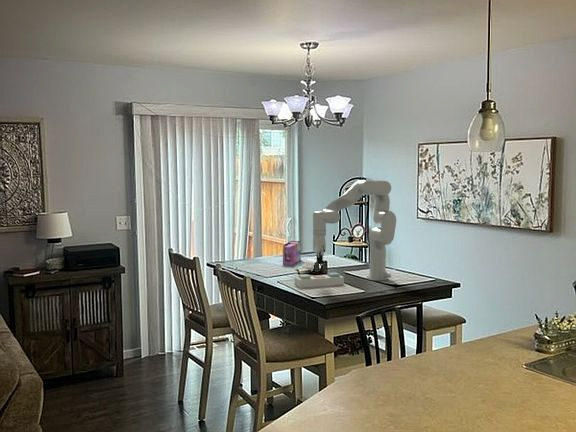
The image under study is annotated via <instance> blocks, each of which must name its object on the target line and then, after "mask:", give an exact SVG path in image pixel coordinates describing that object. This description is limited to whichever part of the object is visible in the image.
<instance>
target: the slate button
mask: <svg viewBox="0 0 576 432" xmlns="http://www.w3.org/2000/svg"><path fill="white" fill-rule="evenodd" d="M327 275H328V276H329V277H340V273H338V272H327Z"/></svg>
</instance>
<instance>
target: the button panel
mask: <svg viewBox="0 0 576 432" xmlns="http://www.w3.org/2000/svg"><path fill="white" fill-rule="evenodd" d="M319 275H320V274H319ZM319 275H318V274H317V275H315V276H319ZM321 275H322V276H324V277H325V278H315V277H313V276H314V275H310V276H311V279H300V278H299V276H295V277H294V286H295V287H298V288H299V289H302V288H303V289H305V288H316V287H328V286H331V287H332V286H341V285H344V284H345V278H344V276H342V275H340V277H329V276H328V274H321Z"/></svg>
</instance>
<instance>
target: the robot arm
mask: <svg viewBox="0 0 576 432" xmlns="http://www.w3.org/2000/svg"><path fill="white" fill-rule="evenodd" d="M391 191H392V184H391V183H390V182H389V181H386V180H380V179H379V180H378V179H377V180H369V179H359V180H357V181H355V182H354V183H353V184H352V185H351V186H350V187H349V188H348V189H347V190H346V191H345V192H344V193H343V194H342V195H341V196H339V197H337V198H336V199H334V200H332V201H331V202H330V203H329V204H327V205H326V207H324V209H322V210H316V211H313V213H312V235H313V238H312V251H313V252H315V254H316V260H317V264H324V260H323V259H324V254H325V252H326V251H327V250H326V249H327V247H326V246H327V245H326V243H327V242H326V241H327V240H326V235H327V224H333V225H334V224H337V223H338V222H339V221H340V220H341V214H340V213H339V212H341V211H342V210H344V209H347V208H350V207H352V206H354V205H355V204H356V203H357V202H358V201H359V200H360V199H361V198H362V197H363V196H364V195H367V196H374V199H375V202H374V203H375V206H374V212H373V217H372V218H373V220H372V221H373V222H374V224H375V225H377V227H373V228H371V229H370V230H369V232H368V241H369V275H367V276H366V279H367V280H369V281H375V282H376V281H379V282H381V281H387V280H388V279H389V278H392V274H391V273H388V271H386V268H387V267H386V265H387V262H386V260H387V258H386V257H387V256H386V255H387V254H386V253H387V249H386V246H389V245H390V244H391V243H393V241H394V238H395V233H396V227H397V216H396V214H395V213H394V211H392V210H390V204H391V201H390V200H391V199H390V195H389V194H390V193H391ZM379 226H380V227H379Z"/></svg>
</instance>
